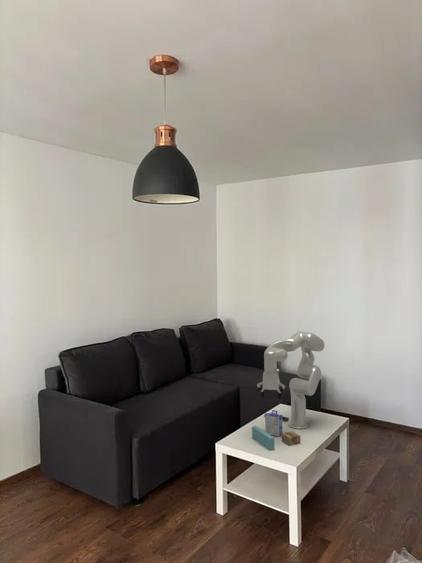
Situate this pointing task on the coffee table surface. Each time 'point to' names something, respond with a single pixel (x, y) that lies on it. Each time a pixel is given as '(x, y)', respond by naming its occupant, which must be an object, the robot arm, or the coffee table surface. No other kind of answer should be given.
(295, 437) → the walnut block
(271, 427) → the ink cartridge box
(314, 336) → the robot arm
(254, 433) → the teal plank
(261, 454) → the coffee table surface
